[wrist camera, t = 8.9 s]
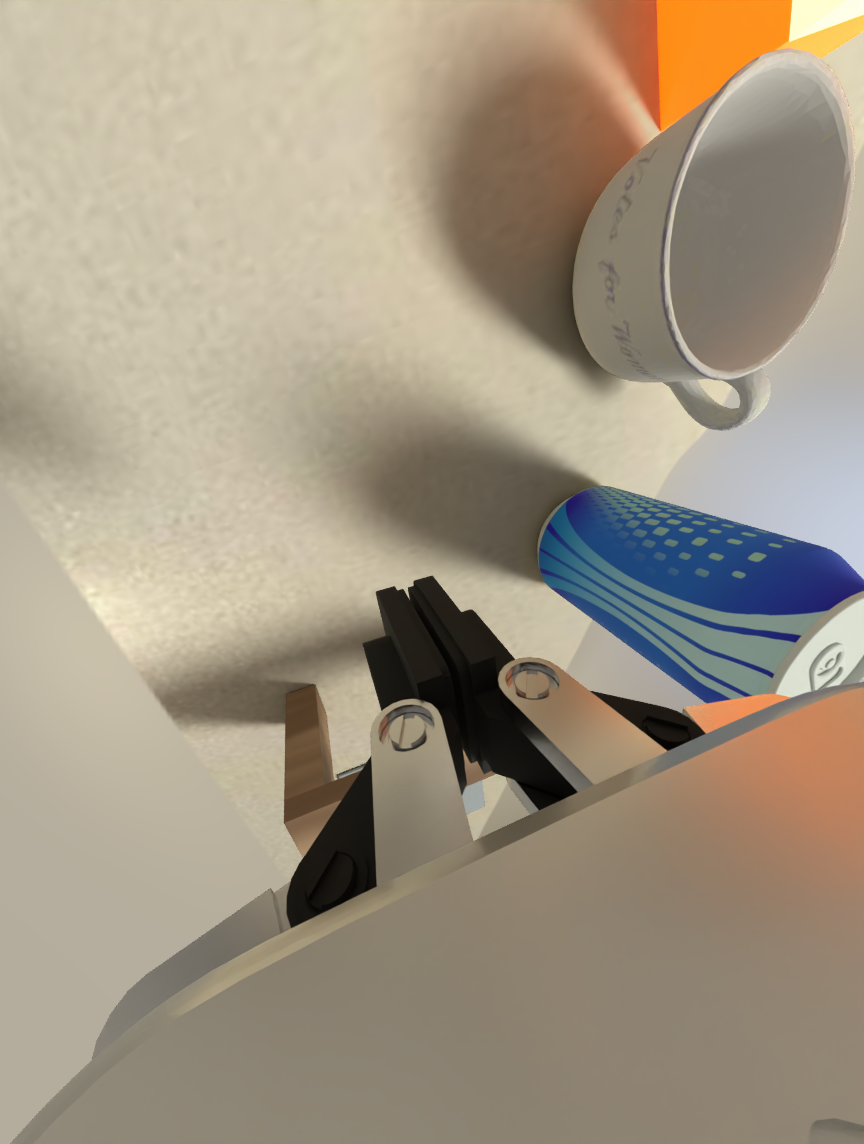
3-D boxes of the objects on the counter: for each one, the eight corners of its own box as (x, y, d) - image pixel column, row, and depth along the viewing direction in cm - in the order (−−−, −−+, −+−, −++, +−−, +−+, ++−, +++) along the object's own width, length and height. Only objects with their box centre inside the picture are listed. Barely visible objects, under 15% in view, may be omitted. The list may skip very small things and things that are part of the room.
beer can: (520, 593, 29) (723, 766, 16) (537, 482, 26) (817, 580, 12) (608, 582, 32) (848, 723, 18) (634, 481, 29) (953, 560, 15)
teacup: (531, 187, 19) (666, 69, 12) (703, 137, 21) (909, 7, 14) (564, 457, 26) (663, 479, 19) (692, 403, 27) (826, 406, 21)
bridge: (285, 694, 26) (283, 823, 18) (477, 631, 29) (546, 717, 22) (298, 724, 28) (302, 856, 20) (481, 660, 31) (546, 752, 23)
